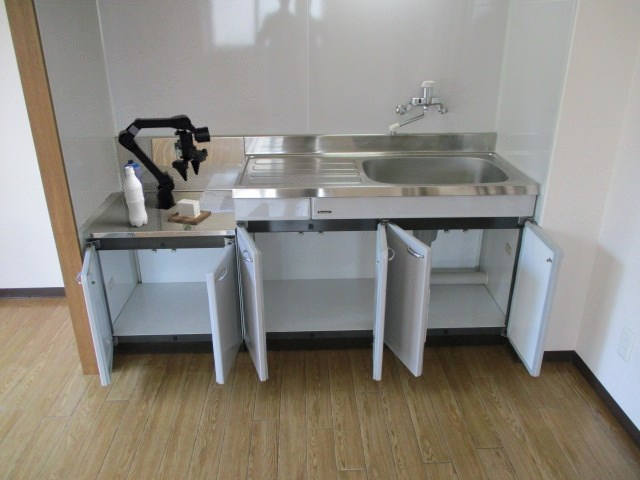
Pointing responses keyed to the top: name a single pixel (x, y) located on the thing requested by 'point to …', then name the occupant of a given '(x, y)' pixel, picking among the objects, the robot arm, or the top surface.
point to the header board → (189, 218)
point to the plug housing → (188, 208)
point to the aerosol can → (136, 174)
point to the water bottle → (134, 198)
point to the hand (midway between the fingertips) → (191, 177)
